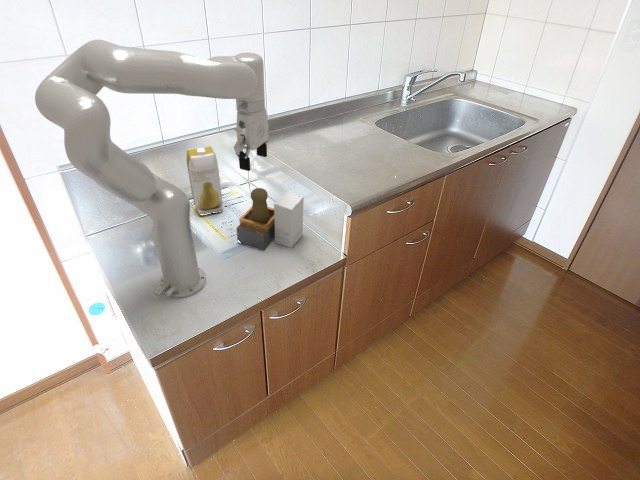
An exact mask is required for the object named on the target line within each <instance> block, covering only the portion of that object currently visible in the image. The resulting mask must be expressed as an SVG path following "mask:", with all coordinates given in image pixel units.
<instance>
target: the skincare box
mask: <svg viewBox="0 0 640 480" xmlns="http://www.w3.org/2000/svg"><path fill="white" fill-rule="evenodd" d="M304 199H305V197H304V195H301V194H297V193H294V192H292V191H285V192H284V193H283V194H282V195H281V196H280V197H279V198H278V199H276V201H275V202H274V203H273V205H274V207H273V209H274V216H275V238H274V242H275V243H276V244H279V245H282V246H284V247H287V248H289V249H292V248H293V247H294V246H295V245H296V243H297V242H298V241H299V240H300V239H301V238H302V237H303V234H304V233H303V230H304Z"/></svg>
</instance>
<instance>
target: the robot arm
mask: <svg viewBox="0 0 640 480" xmlns="http://www.w3.org/2000/svg"><path fill="white" fill-rule="evenodd" d="M264 67H265V66H264V60H263V57H262V56H261V55H260V54H258V53H254V52H241V53H238V54H235V55H228V56H227V55H226V56H224V55H223V56H221V55H218V56H212V57H210V58H208V59H203V58H201V57H196V56H193V55H190V54H187V53H182V52H178V51H174V50H164V49H162V50H161V49H152V48H142V47H134V46H133V47H131V46H125V45H124V46H123V45H119V44H115V43H112V42H110V41H107V40H103V39H93V40H90V41H88V42H86V43H84V44H82V45H81V46H80V47H78V48H77V49H76V50H75V51H73V53H71V54H70V55H68V57H67V58H66V59H65V60H64V61H62V63H60V64H59V65H58V66H57V67H56V68H55V69H53V71H52V72H50V73H49V74H48V75H47V76H46V77H45V78H44V79H43V80H41V82H40V83H39V85H38V87H37V88H36V91H35V95H34V101H35V106H36V108H37V109H38V111H39V113H40V114H41V116H43V117H44V118H45V119H46V120H48V121H49V122H51V123H53V124H54V125H56V126H58V127H60V128H61V129H63V132H64V133H63V136H64V137H63V144H64V150H65V155H66V157H67V159H68V161H69V162H70V164H71V165H72V166H73V167H74V168H75V169H77V170H78V171H79V172H80V173H82V174H83V175H85V176H86V177H88V178H90V179H92V181H94V182H95V183H96V184H97V185H98V186H100V187H101V188H103V189H105V191H108V193H111V194H112V195H114V196H115V197H118V198H119V199H121V200H124V201H126V202H127V203H129V204H130V205H132V206H134V207H135V208H137V209H139V210H140V211H141V212H143V213H144V214H146V215H147V216H149V218H150V219H151V220H152V221H153V226H152V231H151V232H152V234H151V235H152V239H153V242H154V247H155V249H156V254H157V258H158V262H159V264H160V269H161V272H162V275H161V277H160V279H159V284H158V285H159V287H158V288H157V289H156V290H155V291H154V292H153V293H152V294H153V297H155V298H157V299H158V298H159V299H160V297H161V296H162V295H163V294H164V296H165V297H166V298H167V297H168V298H169V297H171V298H175V299H176V298H179V299H180V298H187V297H190V296H193V295H194V294H196V293H198V292H199V291H200V290H202V289H203V288H204V286H205V284H206V281H207V277H206V273H205V271H204V269H202V268H201V267H200V266H199V265H198V264H199V263H198V260H197V254H196V248H195V242H194V238H193V233H192V227H191V202H190V199H189V197H188V195H187V194H186V193H185V191H183V189H181V188H179V187H178V186H177V185H174V183H171V182H170V181H168V180H165V179H163V178H162V177H160V176H159V175H157V174H155V173H153V172H152V171H151V169H150V168H149V167H148V166H147V165H146V164H145V163H143V162H142V161H141V160H139V159H137V158H136V157H134V156H133V155H130V154H129V153H127V152H125V151H124V150H123V149H122V148H121V147H119V146H118V145H117V144H116V143H114V142H113V141H112V139H111V115H110V111H109V109H108V107H107V105H106V104H105V102H104V101H103V100H102V99H101V98H100V97H99V96H97V95H98V94H99V93H100V92H101V91H102V89H103V88H107V89H109V90H111V91H115V92H117V93H121V94H130V95H131V94H133V95H134V94H139V95H140V94H148V95H151V94H154V95H155V94H156V95H157V94H158V95H161V94H163V95H165V94H167V95H171V94H172V95H173V94H174V95H183V96H189V97H198V98H199V97H200V98H203V97H204V98H210V99H211V98H212V99H222V100H235V105H236V107H235V108H236V111H237V113H236V138H237V139H236V142H235V144H234V146H233V149H234V151H235V154H236V155H237V158H238V165H239V169H240V170H243V171H247V172H249V171H251V158H250V157H249V156H250V155H249V154H250V152H251V151H255V150H256V155H257V156H258V157H264V158H267V156H268V146H267V145H268V139H269V138H270V137H269V129H270V125H269V123H268V122H269V121H268V114H267V109H266V101H265V100H266V99H265V96H266V95H265V71H264V69H265V68H264ZM244 150H245V152H244Z"/></svg>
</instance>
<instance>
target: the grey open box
mask: <svg viewBox="0 0 640 480" xmlns="http://www.w3.org/2000/svg"><path fill="white" fill-rule="evenodd" d="M267 207H268V206H267ZM268 211H269V216H270V220H269V221H268V223H267V224H262V223H258V222H254V221H251V217H252V206H250V208H249V209H248V210H247V211H246V212H245V213H244V214H243V215H242V216H241V217H240V218H239V220H238V221H239V224H238V226H237V227H236V237H237V241H238V240H239V241H240V242H241V244H240V245H243V246H244V245H245V246H247V247H250V248H254V249H257V250H260V251H263V252H264V251H266V249H267V248H268V247H269V246H270V245H271V243H272V242H274V241H275V216H274V207H268Z"/></svg>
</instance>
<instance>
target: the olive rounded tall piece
mask: <svg viewBox="0 0 640 480" xmlns="http://www.w3.org/2000/svg"><path fill="white" fill-rule="evenodd" d="M268 197H269V195H268V191H267V190H266V189H264V188H262V187H256V188H254V189H252V191H251V192H250V199H251V201H252V205H251V207H252V217H251V221H254V222H258V223H262V224H267V223H268V221H269V220H270V216H269V211H268V202H267V200H268Z"/></svg>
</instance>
